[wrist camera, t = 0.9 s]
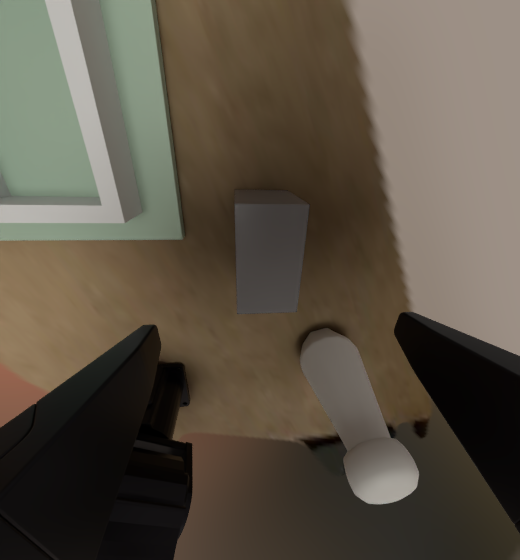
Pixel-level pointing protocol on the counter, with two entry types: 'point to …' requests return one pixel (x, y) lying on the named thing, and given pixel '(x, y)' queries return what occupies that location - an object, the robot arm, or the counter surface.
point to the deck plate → (85, 123)
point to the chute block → (269, 250)
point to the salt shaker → (357, 419)
